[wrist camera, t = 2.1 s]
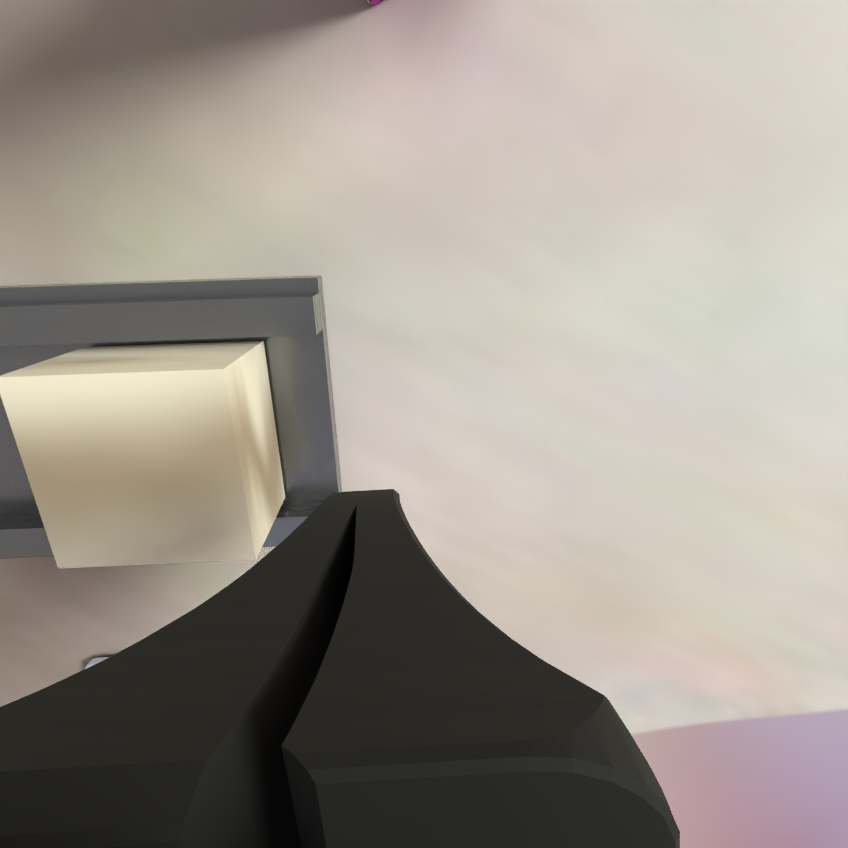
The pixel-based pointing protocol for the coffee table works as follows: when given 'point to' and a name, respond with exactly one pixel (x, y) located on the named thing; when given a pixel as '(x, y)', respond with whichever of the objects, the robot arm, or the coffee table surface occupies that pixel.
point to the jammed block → (149, 452)
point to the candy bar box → (373, 2)
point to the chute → (178, 324)
